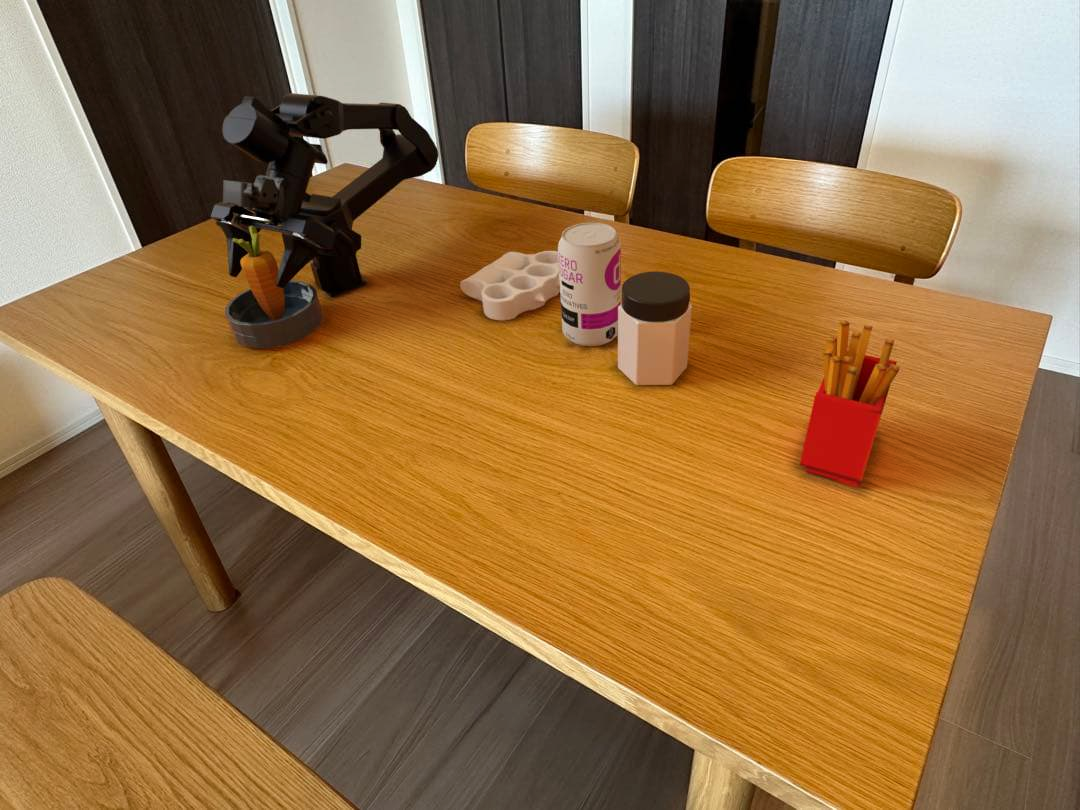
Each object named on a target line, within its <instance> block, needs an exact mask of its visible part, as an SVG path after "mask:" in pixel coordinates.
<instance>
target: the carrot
mask: <svg viewBox="0 0 1080 810" xmlns="http://www.w3.org/2000/svg"><path fill="white" fill-rule="evenodd" d="M249 230H250V234H251V237H252V246H253V248H252V246H251V245H250V243H249V242H245V241H244V240H243V239H236V238H234V239H233V242H235V243H237V244H239V245H240V246H242V247H243V248H244V249H245V250H246V251H247V252H248V254H247V255H245V256H244V257H243V258H242V259H241V260H240V261H241V266H242V271H243V274H244V277H245V279H246V281H247V284H248V286H249V289H250V288H251V290H252V293H253V294H254V296H255V298H256V300H257V302H258V303H259V305H260V306H261V308H262V310H263V311H264V312H265V313H266V314H267V315H268V316H269V317H270V318H271V319H272V320H273V321H274V320H278V319H282V318H283V315H284V309H285V298H284V290H283V288H280V287H278V286H276V282H277V275H278V271H279V266H278V263H277V260H276V258H275V257H274V254H273V253H272V252H271V251H269V250H261V249H260V248H261V247H260V238H261V237H260V236H261V235H260V234H259V233H257V230H256V227H254V226H250V227H249Z"/></svg>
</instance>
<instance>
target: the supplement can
mask: <svg viewBox="0 0 1080 810" xmlns="http://www.w3.org/2000/svg"><path fill="white" fill-rule="evenodd" d="M621 242H622V241H621V239H620V238H619V236H618V234H617V230H616V229H615V228H614V227H612V226H611V225H609V224H607V223H601V222H582V223H577V224H574V225H570V226H569V227H567V228H565V229H564V230H563V231H562V233H561V237H560V239H559V241H558V244H557V251H558V261H559V279H560V292H559V293H560V312H561V315H560V316H561V328H562V329H561V331H562V334H563V335H564V337H565V338H566V339H568V340H569V341H571V342H572V343H573V344H575V345H578V346H583V347H597V346H598V347H599V346H602V345H605V344H608V343H610V342H611V341H613V340H614V338H616V337H618V307H619V306H620V305H621V302H622V284H621V281H622V277H621V275H622V268H621V267H622V266H621V265H622V263H621V262H622V259H621V258H622V243H621Z"/></svg>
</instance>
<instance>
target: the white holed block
mask: <svg viewBox="0 0 1080 810" xmlns="http://www.w3.org/2000/svg"><path fill="white" fill-rule="evenodd" d="M459 287H460V289H461V291H462V292H463V293H464V294H465V295H467V296H468V297H470V298H473V299H475V300H478V301H480V302H482V309H483V310H482V311H483V313H484V315H485V316H486V317H487V318H489V319H491V320H494V321H498V322H499V321H503V322H505V321H509V320H510V321H511V320H514V319H516V318H517V317H518V316H519V315H520V314H522V313H524V312H528V311H535V310H537V309H539V308H541V307H544V306H545V304H546V302H547V301H548V300H550V299H552V298H554V297H557V296H558V295H559V293H560V279H559V261H558V250H543V251H540V252H537V253H530V254H526V253H522V252H518V251H508V252H505V253H504V254H502V256H501V257H499V258H497V259H496V260H493V262H491V263H489V264H488V265H485V266H483V267H482V268H481V269H480V270H478V271H477V272H475V273H473V274H472V275H470V276H469V277H467V278H465V279H463V280H461V281H460V283H459Z"/></svg>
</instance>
